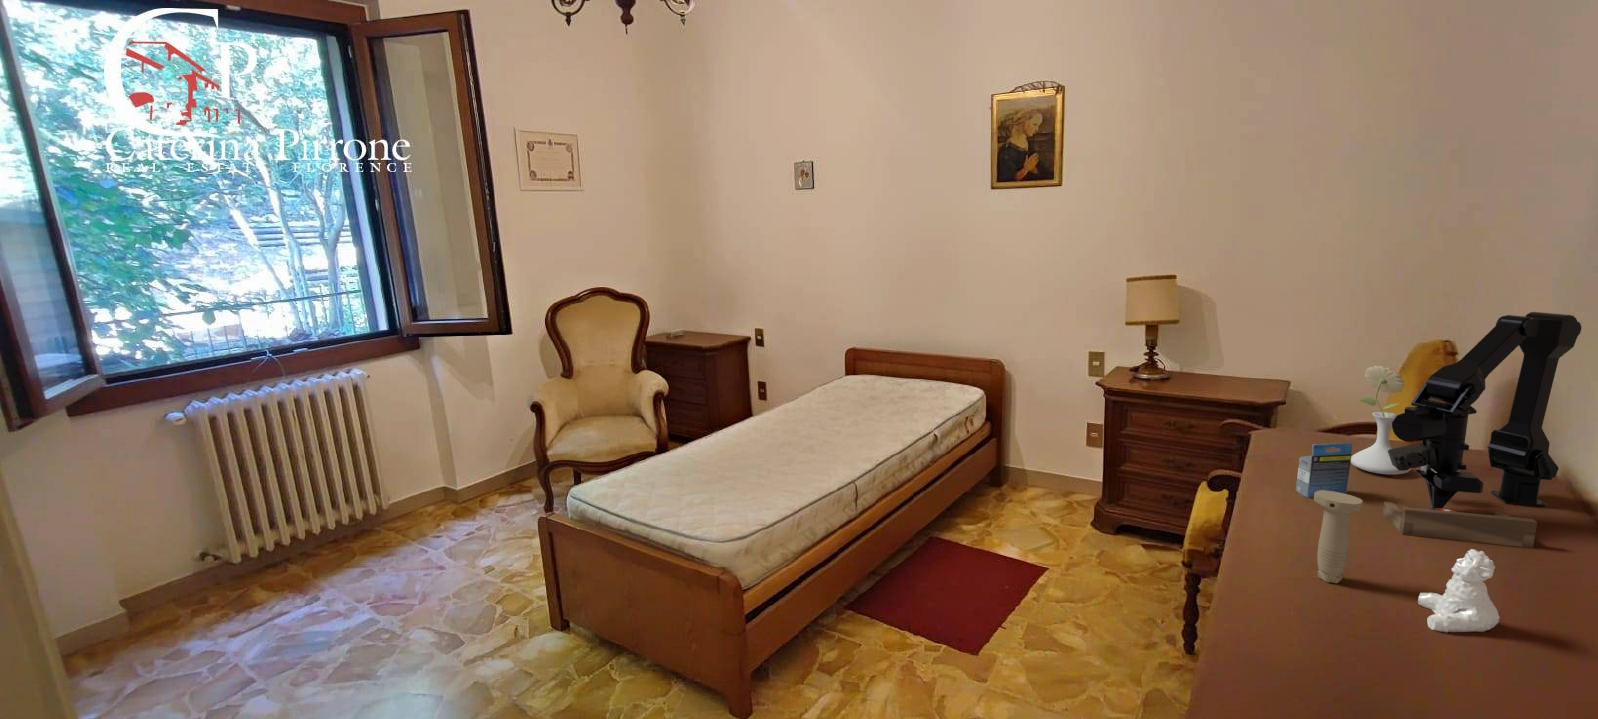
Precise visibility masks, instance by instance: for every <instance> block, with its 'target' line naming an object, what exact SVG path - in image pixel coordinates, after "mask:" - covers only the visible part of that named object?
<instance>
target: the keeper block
mask: <svg viewBox="0 0 1598 719" xmlns="http://www.w3.org/2000/svg"><path fill="white" fill-rule="evenodd" d="M1382 514H1383V516H1384V517H1385V518H1386V519H1388V521H1389V522H1390V523H1391V524H1392V525H1393V527H1395V528H1396V529H1397V530H1398V531H1399V533H1400V534H1401V535H1404V536H1415V537H1423V538H1432V539H1442V540H1453V541H1462V542H1472V543H1480V544H1482V543H1483V544H1490V545H1501V546H1510V547H1511V546H1512V547H1518V548H1519V547H1521V548H1530V549H1533V548H1534V546H1535V545H1534V544H1535V538H1536V532H1537V527H1538V521H1536V520H1535V519H1533V518H1527V517H1526V518H1525V517H1515V516H1510V515H1509V514H1507V513H1506V512H1501V511H1495V512H1494V515H1492V514H1483V513H1480V514H1479V513H1470V512H1459V511H1457V512H1450V511H1439V510H1428V509H1426V508H1416V507H1415V508H1414V507H1406V506H1404V507H1403V506H1402V509H1400V508H1399V507H1398V506H1397V505H1396V504H1395V503H1394V502H1390V501H1389V502H1388V501H1384V502H1383V508H1382Z"/></svg>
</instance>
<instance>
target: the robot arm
mask: <svg viewBox="0 0 1598 719" xmlns="http://www.w3.org/2000/svg"><path fill="white" fill-rule="evenodd" d="M1581 332H1582V324H1581V323H1580V322H1579V321H1578V319H1577V318H1576V317H1575V316H1574V315H1571V314H1562V313H1553V312H1552V313H1550V312H1542V311H1541V312H1539V311H1531V312H1528V313H1527V314H1526V315H1525V316H1523V315H1512V314H1507V315H1502V316H1500V317H1499V318H1498V319H1497V321H1496V322H1495V326H1494V327H1493V328H1492V329H1491V330H1490V331H1489V332H1488V333H1487V334H1486V335H1484V336H1483V338H1481V339H1480V341H1478V343H1476V344H1475V345H1474V346H1473V347H1472V348H1471V349H1470V350H1469V351H1468V352H1467V353H1466V354H1465V355H1464V356H1463V357H1462V358H1461V359H1460V360H1458V361H1457V362H1453V363H1451V364H1448V365H1445V366H1442V367H1441V368H1439V369H1438V370H1437V371H1435V372H1434V373H1432V374H1431V375H1430V376H1429V377H1428V378H1427V380H1425V382H1424V384H1422V387H1421V388H1420V389H1419V391H1418V392H1417V394H1416V395H1415V397H1414V399H1413V400H1412V401H1411V403H1410V405H1411V406H1406V407H1405V408H1404V412H1402V413H1400V414H1397V415H1398V416H1396V418H1395V419H1394V421H1393V422H1392V428H1391V430H1392V432H1393V433H1394V435H1395V436H1396V437H1397V438H1398V439H1399V440H1401V441H1403V442H1406V443H1414V442H1419V443H1418V444H1409V445H1408V444H1407V445H1405V446H1399V447H1394V448H1392V449H1390V450H1388V454H1389V457H1390V460H1391V462H1392V465H1393V466H1395V467H1396V468H1397V469H1398V470H1400V471H1405V470H1408V469H1411V468H1412V469H1415V468H1420V469H1415V472H1416V474H1418V475H1419V476H1420V477H1422V479H1424V480H1425V483H1426V486H1427V491H1428V495H1429V500H1430V504H1431V508H1440V509H1444V507H1445V506H1446V504H1448V503H1449V501H1450V500H1451V499H1452V498H1453V497H1454V496H1455V495H1456V494H1457V493H1458V492H1460V493H1471V494H1482V493H1483V490H1484V482H1483V481H1481V480H1480V478H1478V477H1477V476H1475V475H1474V474H1473V473H1471V472H1467V464H1465V463H1464V462H1463V458H1464V451H1469V450H1470V444H1467V443H1466V437H1467V436H1466V435H1467V427H1468V421H1469V415H1474V414H1477V412H1478V410H1477V409H1475V407H1473V406H1472V405H1473V404H1474V403H1475V402H1476V401H1477V400H1478V399H1479V398H1480V396H1481V395H1482V394H1483V392H1484V391H1485V390H1486V378H1488V376H1489V375H1490V374H1491V373H1492V372H1493V371H1494V370H1495V369H1496V368H1497V367H1498V366H1499V365H1501V363H1503V362H1504V360H1505V359H1506V358H1507V357H1508V356H1510V355H1511V354H1512V353H1513V352H1514V351H1515V350H1516V349H1517V348H1518V347H1519V349H1520V350H1521V352H1522V354H1523V358H1522V361H1521V362H1522V363H1521V365H1520V366H1521V368H1520V369H1519V370H1520V371H1519V375H1518V380H1517V383H1516V388H1515V391H1514V394H1513V400H1512V405H1511V407H1510V408H1511V409H1510V413H1509V417H1508V420H1507V423H1506V424H1505V425H1503V426H1502V427H1500V428H1499V429H1494V430H1493V431H1492V432H1491V434H1490V441H1489V443H1488V446H1487V451H1488V452H1487V453H1488V457H1489V458H1488V459H1489V463H1490V464H1489V465H1490V467H1491V468H1494V469H1499V470H1502V474H1501V480H1500V486H1499V490H1490V493H1491V494H1492V495H1493V496H1495V497H1496V498H1497V499H1499V500H1501V502H1503V503H1504V504H1512V505H1523V506H1534V507H1535V506H1536V507H1547V504H1546V503H1545V502H1544V501H1543V500H1541V499H1539V493H1540V488H1541V487H1540V486H1541V480H1544V481H1545V480H1547V481H1551V480H1552V479H1553V478H1556V476H1557V474H1558V471H1559V466H1558V465H1557V464H1556V462H1555V460H1553V458H1552V457H1551V455H1550V454H1549V450H1550V441H1549V439H1548V437H1547V435H1546V434H1545V432H1544V429H1543V424H1544V420H1545V416H1546V411H1547V407H1548V403H1549V399H1550V396H1551V391H1552V388H1553V384H1554V379H1555V377H1556V376H1555V375H1556V371H1557V367H1558V364H1559V360H1560V359H1561V357H1563V356H1564V355H1565V354H1567V353H1568V352H1569V351H1571V350H1572V349H1573V348H1574V347H1575V344H1576V341H1577V339H1578V337H1579V335H1580V334H1581ZM1412 469H1411V470H1412ZM1459 470H1460V471H1459Z"/></svg>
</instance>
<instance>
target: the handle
mask: <svg viewBox="0 0 1598 719" xmlns="http://www.w3.org/2000/svg"><path fill="white" fill-rule="evenodd" d="M1313 500H1314V502H1315V503H1317V504H1318V505H1319V506H1320V507H1322V508H1323V517H1322V522H1321V528H1320V533H1319V540H1318V546H1317V557H1316V558H1317V568H1318V570H1317V577H1318V579H1321V580H1323V582H1325V583H1333V584H1339V582H1341V581H1342V579H1343V577H1344V576H1343V573H1344V571H1345V568H1346V564H1347V559H1348V558H1347V557H1348V547H1349V546H1348V541H1349V518H1350V515H1351V514H1350V513H1355V512H1358V511H1360V510H1361V509H1362V507H1363V500H1362V499H1361V498H1360V497H1357V496H1354V495H1351V494H1348V493H1346V494H1344V493H1339V492H1334V491H1325V490H1320V491H1316V492H1315V493H1314V497H1313Z"/></svg>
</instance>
